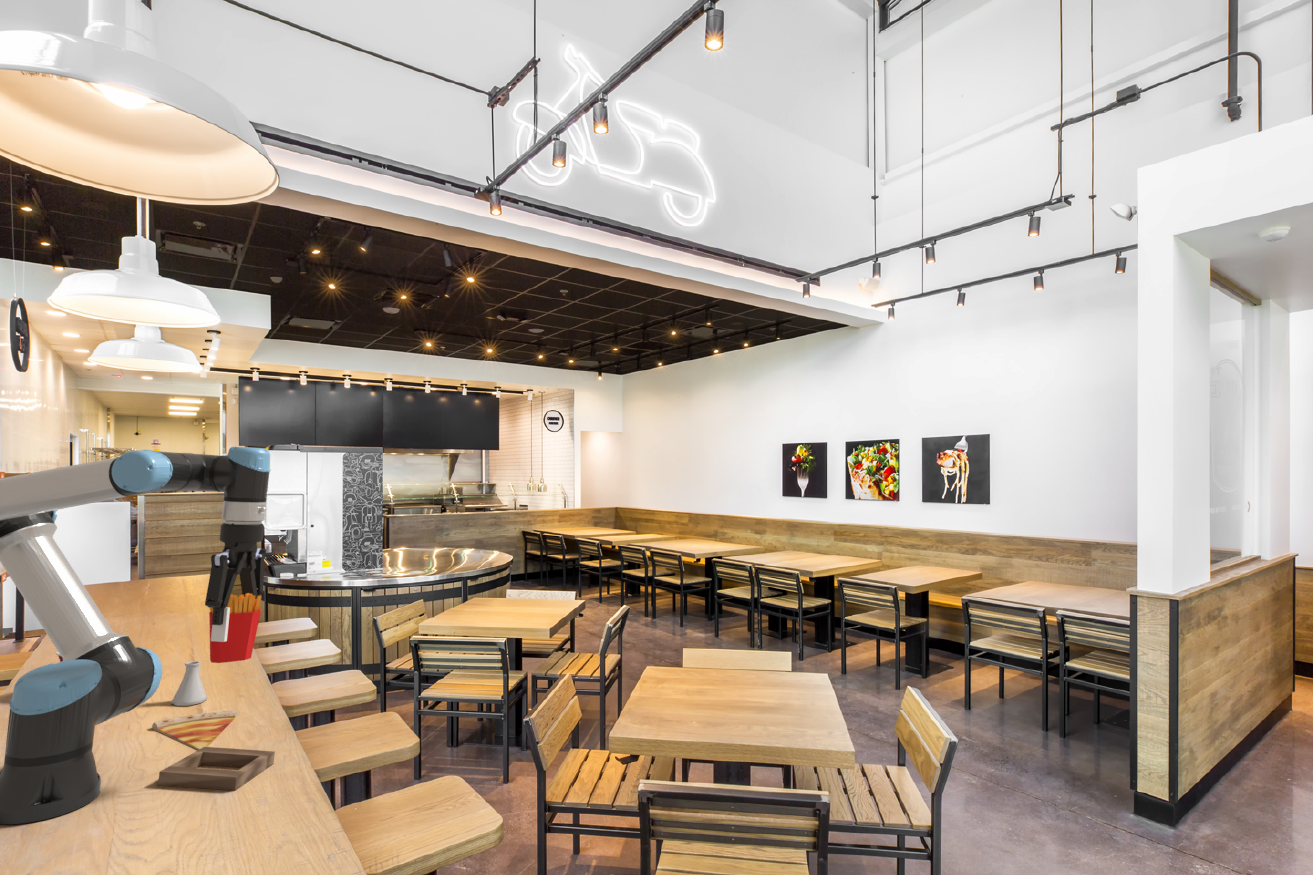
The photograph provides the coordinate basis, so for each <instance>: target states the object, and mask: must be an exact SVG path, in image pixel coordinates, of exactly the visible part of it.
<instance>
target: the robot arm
mask: <svg viewBox="0 0 1313 875" xmlns="http://www.w3.org/2000/svg"><path fill="white" fill-rule="evenodd" d="M270 473H271V452H270V451H269V449H267V448H264V447H262V448H261V447H250V446H249V447H247V446H231V447H229V449H228V452H227V454H226V455H217V454H216V455H215V454H203V453H192V452H170V451H169V452H168V451H161V450H160V451H158V450H151V449H140V450H131V451H130V450H129V451H127V452H124V453H123V454H121V455H120V456H118V457H113V458H112V457H110V458H105V459H102V460H96V461H89V462H86V463H79V464H73V465H67V466H62V467H57V468H51V469H46V470H40V471H34V472H29V473H23V474H18V475H14V476H13V475H11V476H7V477H2V478H1V477H0V563H1V565H2V567H3V569H4V570H5V571H6V573H7V574H8V576H9V577H10V579H11V581H12V582H13V584H14V585H15V587H16V588H17V590H18V591H19V593H20V594H21V596H22V597H23V600H25V602H26V604H27V605H28V607H29V608H30V610H31V611H32V613H33V615H34V616H35V618H36V620H37V621H38V622H39V624H40V625H41V627H42V629H43V630H44V632H45V633H46V635H47V636H48V638H49V639H50V641H51V642H52V644H53V646H54V647H55V649H56V650H57V651H58V652H59V653H60V655H61V656H62V658H63V661H62V662H60V661H59V662H57V663H48V664H46V665H41V666H39V667H36V668H33V669H31V670H30V671H28V672H26V673H24V674H23V675H22V676H20V677H19V678H18V679H17V681H16V682H15V684H14V686H13V690H12V695H11V697H10V700H9V714H8V715H9V716H8V724H7V732H6V743H5V744H6V745H5V752H4V754H5V755H4V761H3V762H4V763H3V767H2V769H1V770H0V825H17V824H19V825H21V824H27V823H33V822H34V823H35V822H40V821H44V820H48V819H52V818H56V817H60V816H63V815H66V814H68V813H71V812H74V811H76V810H78V809H81V808H83V807H85V806H86V805H88V804H90V803H91V802H93V801H94V800H95V799H96V798H98V796H99V795H100V792H101V784H102V778H101V776H100V774H99V772H98V771H97V765H96V760H95V756H94V753H93V747H94V746H93V745H94V738H95V737H94V736H95V728H96V726H97V725H100V724H102V723H104V722H107V721H109V720H110V719H113V718H115V717H117V716H119V715H121V714H124V713H128V712H130V711H133V710H135V709H136V708H137V707H139V706H140V705H143V704H144V703H146V702H147V701H148V700H149V699H151V698H152V697H153V696H154V695H155V693H156V692H157V690H158V689H159V687H160V683H161V680H162V678H163V664H162V661H161V659H160V657H159V656H158V654H156V653H155V652H154V651H153V650H152V649H149V648H144V647H141V646H137V647H136V646H135V645H134V643H133V641H132V640H131V638H130V637H129V635H127V634H123V633H118V632H117V633H116V632H115V631H114V630H113V629H112V627H111V625H110V623H109V622H108V621H107V619H106V617H105V616H104V615H103V613H102V612H101V610H100V608H99V607H98V605H97V604H96V602H95V600H94V599H93V598H92V596H91V595H90V593H89V592H88V590H87V588H86V587H85V585H84V584H83V582H82V581H81V579H80V578H79V576H78V574H77V573H76V571H75V570H74V568H73V567H72V565H71V564H70V562H69V561H68V559H67V557H66V556H65V554H64V552H63V551H62V549H61V548H60V546H59V544H57V542H56V541H55V538H53V537H54V535H55V532H56V531H57V529H58V527H57V525H56V523H55V522H56V520H57V517H58V515H57V514H56V512H57V511H58V510H63V509H64V510H65V509H67V508H68V509H69V508H73V507H78V506H84V505H89V504H95V503H100V502H105V501H110V500H114V499H121V498H127V497H133V496H138V495H144V494H151V493H159V492H217V493H223V504H222V509H221V510H222V511H221V518H220V519H221V520H222V521H223V523H222V524H220V532H219V541H221V542H222V543H224V547H223V549H222V552H221V553H218V554H212V555H211V557H210V562H211V563H210V564H211V565H210V566H211V568H210V572H209V573H210V574H209V579H208V584H207V585H208V586H207V590H206V596H205V601H204V606H206V607H207V608H209V607H210V608H213V618H212V633H211V641H218V642H225V641H227V634H228V624H229V614H230V608H229V607H227V605H228V602H229V599H230V595H232V593H233V588H234V586H235V583H236V580H237V576H238V575H239V580H240V588H241V595H244V597H245V594H246V593H250V594H253V596H255V599H257V597H258V596H263V594H264V584H265V581H264V578H265V576H264V575H265V558H266V555H267V554H266V553H267V549H265V548H258V544H257V543H260V542H262V541H263V539H264V533H265V532H264V531H265V524H263V523H262V522H264V521H265V520H266V519H265V517H266V510H267V508H266V507H267V505H266V504H267V494H268V487H269V486H268V485H269V481H270V480H269V478H270ZM212 599H213V600H212ZM210 608H209V609H210Z"/></svg>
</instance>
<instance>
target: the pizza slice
mask: <svg viewBox="0 0 1313 875" xmlns="http://www.w3.org/2000/svg"><path fill="white" fill-rule="evenodd" d="M239 713H240V712H239V710H226V711H212V712H204V713H203V712H202V713H195V714H189V715H184V716H178V717H173V718H168V719H162V720H158V721H154V722H153V723H152V725H151V729H152V730H154V731H155V732H156V731H157V732H159V733H161V734H163V735H165V736H167V737H169V738H172V739H174V740H175V741H177V742H180V743H183V744H184V745H186V746H189V747H190V748H193V749H195V750H196V751H198V750H200V749H201V748H203V747H211V745H212V744H213V743H214V742H215V741H216V739H217V738H218V737H219V736H220V735H222V733H223V732H224V731H225V730H226V729H227V728H228V727H230V725H231V724H232V723H233V722H234V721H235V720H236V719H237V718H238V717H239Z"/></svg>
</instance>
